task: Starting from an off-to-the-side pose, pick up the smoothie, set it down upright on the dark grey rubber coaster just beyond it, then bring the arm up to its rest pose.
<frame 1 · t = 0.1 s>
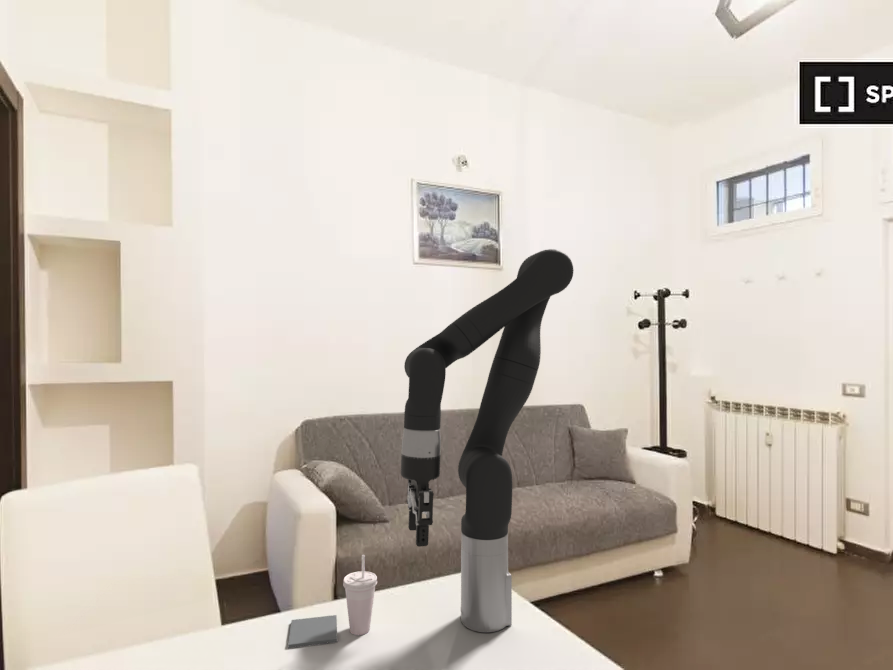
hand: (417, 537, 98), 17 cm above the table, tool pointing down, fingers open, 8 cm apart
coaster: (313, 632, 96), on the table
smoothie: (359, 630, 97), on the table
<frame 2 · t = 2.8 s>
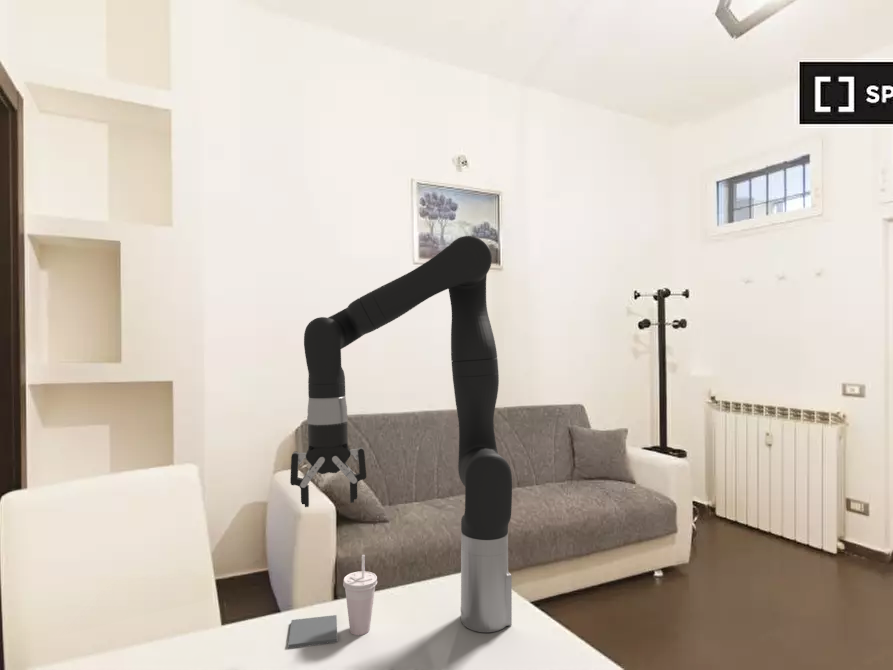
hand: (329, 503, 99), 23 cm above the table, tool pointing down, fingers open, 8 cm apart
nothing on the table moved.
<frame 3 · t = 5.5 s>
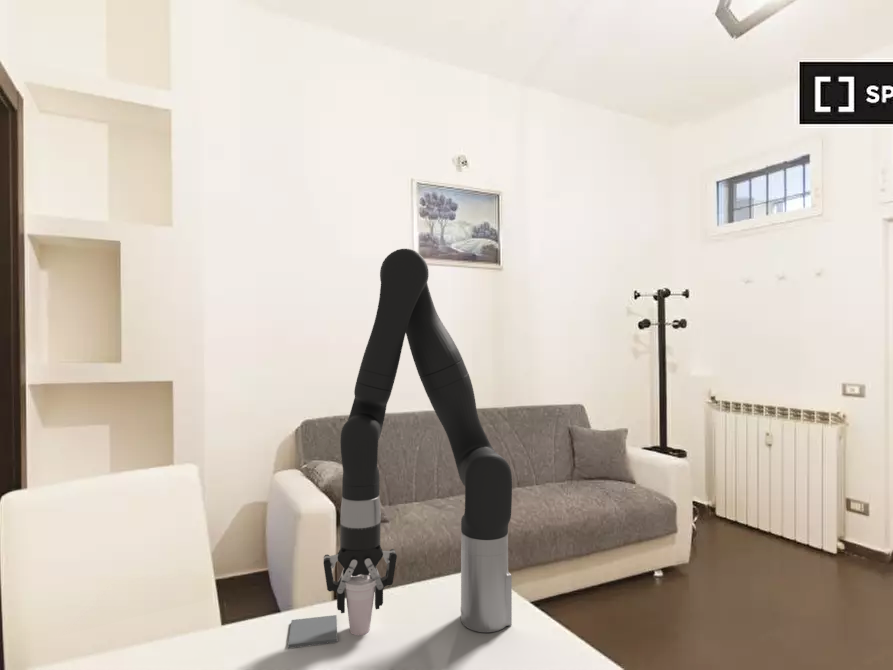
hand: (359, 608, 97), 4 cm above the table, tool pointing down, fingers closed on smoothie, 6 cm apart
smoothie: (359, 630, 97), on the table, touching gripper
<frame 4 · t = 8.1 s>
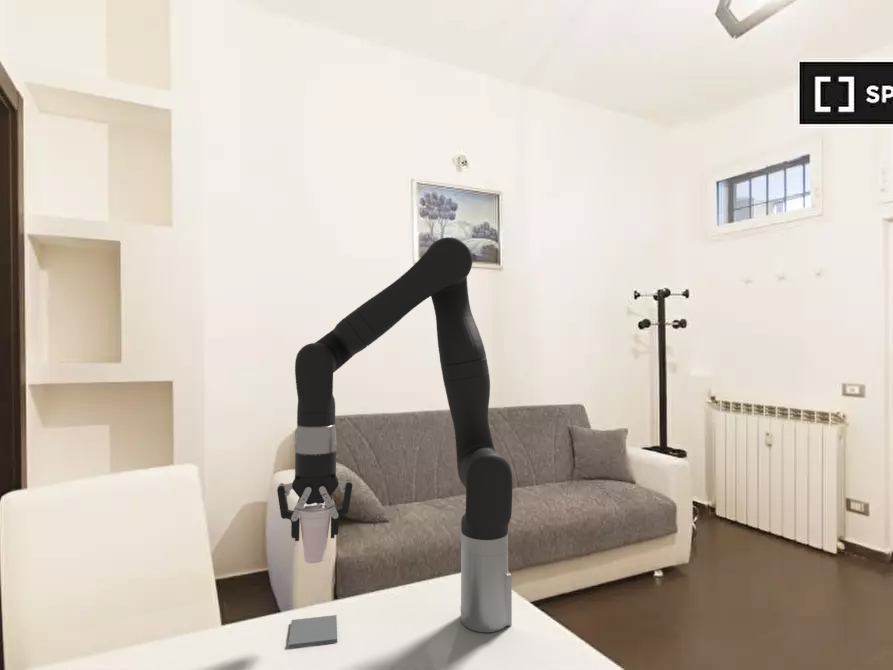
hand: (314, 538, 96), 18 cm above the table, tool pointing down, fingers closed on smoothie, 6 cm apart
smoothie: (314, 560, 96), point 13 cm above the table, touching gripper
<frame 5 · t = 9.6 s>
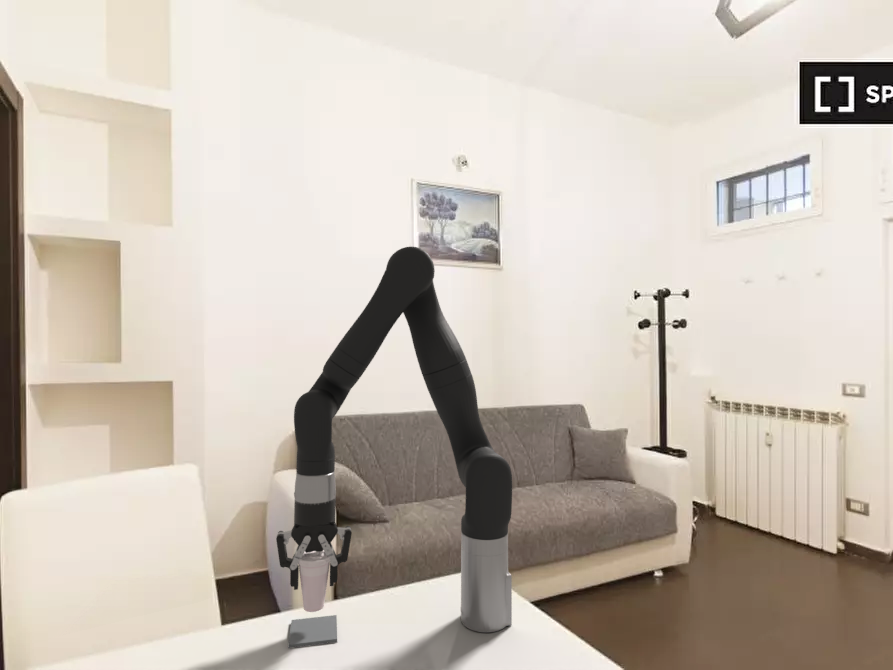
hand: (313, 585, 96), 9 cm above the table, tool pointing down, fingers closed on smoothie, 6 cm apart
smoothie: (313, 608, 96), point 5 cm above the table, touching gripper
when the fingers open (6 cm above the table, at t = 10.7 s): smoothie drops 1 cm, resting on coaster.
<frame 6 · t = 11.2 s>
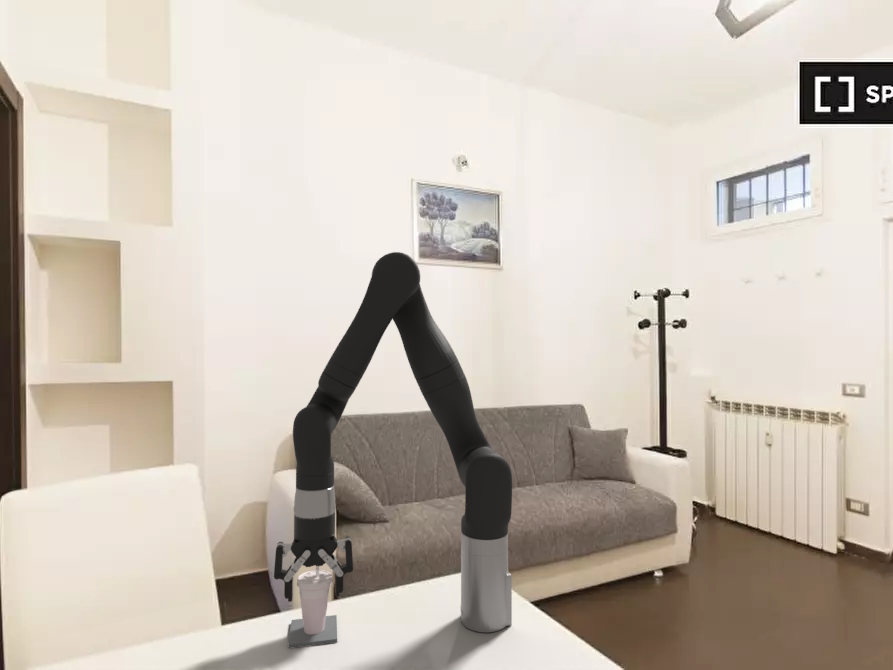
hand: (314, 597, 96), 6 cm above the table, tool pointing down, fingers open, 8 cm apart
smoothie: (314, 630, 96), resting on coaster
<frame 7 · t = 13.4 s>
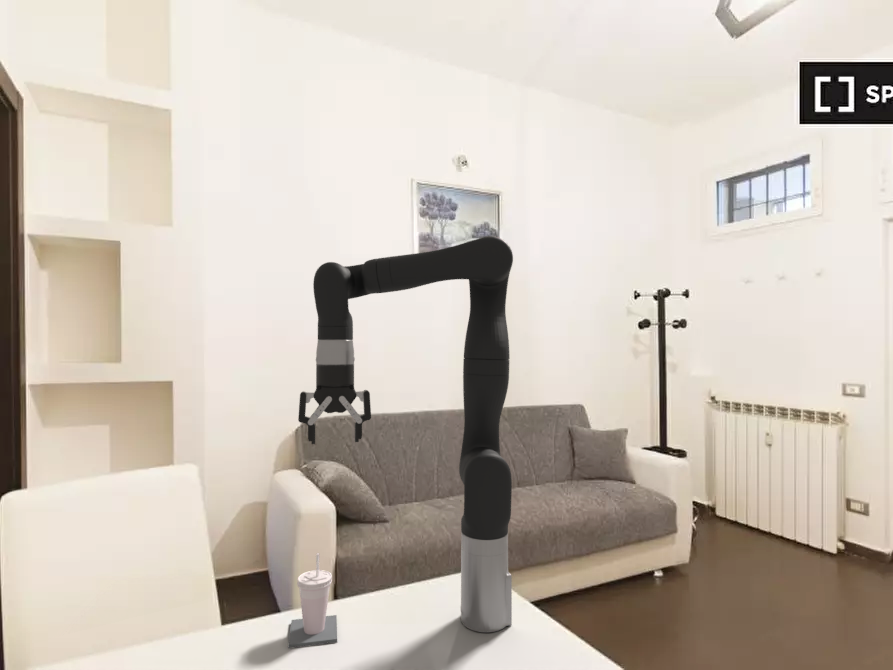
hand: (335, 442, 104), 34 cm above the table, tool pointing down, fingers open, 8 cm apart
nothing on the table moved.
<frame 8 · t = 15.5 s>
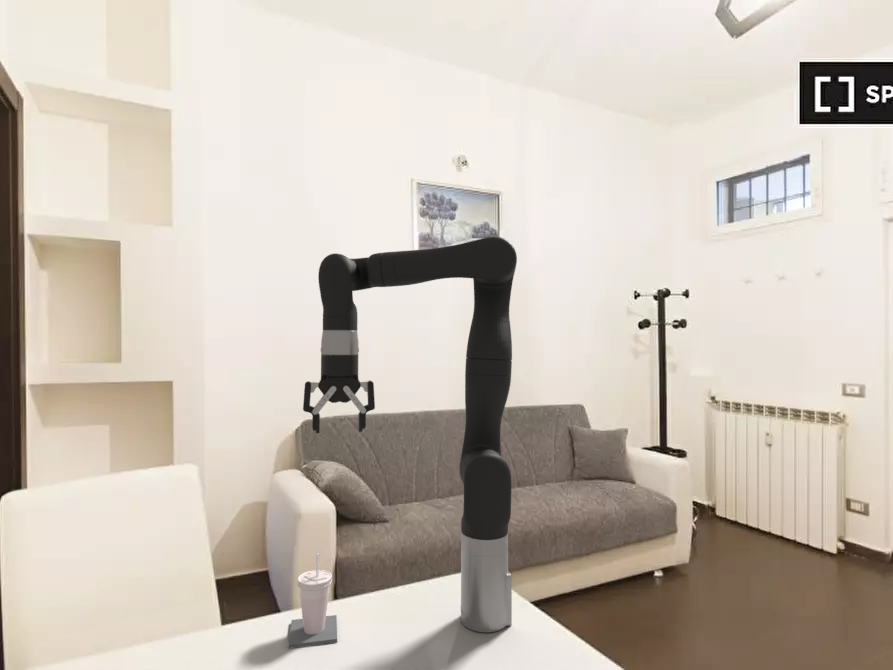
hand: (339, 432, 105), 36 cm above the table, tool pointing down, fingers open, 8 cm apart
nothing on the table moved.
at the end: smoothie 0.1 cm from the coaster (horizontally); smoothie tilted 0°; the gripper is holding nothing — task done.
